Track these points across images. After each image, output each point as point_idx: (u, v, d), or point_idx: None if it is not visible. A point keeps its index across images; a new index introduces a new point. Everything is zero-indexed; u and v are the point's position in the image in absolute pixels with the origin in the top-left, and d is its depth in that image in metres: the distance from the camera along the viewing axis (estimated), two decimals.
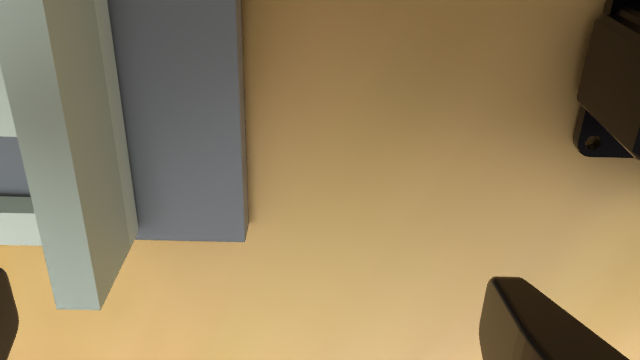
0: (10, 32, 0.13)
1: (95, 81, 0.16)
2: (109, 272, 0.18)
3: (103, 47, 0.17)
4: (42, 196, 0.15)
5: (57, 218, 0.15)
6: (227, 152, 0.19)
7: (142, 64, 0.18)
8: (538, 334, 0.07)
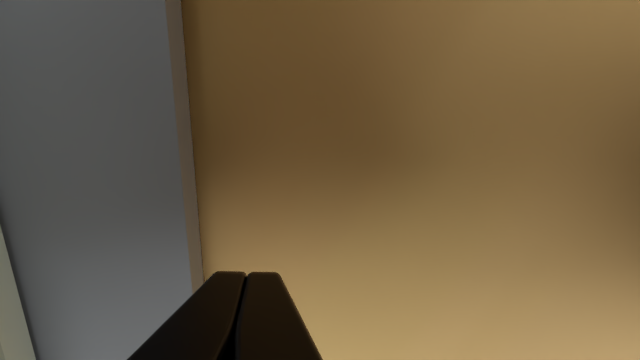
0: None
1: None
2: None
3: None
4: None
5: None
6: (172, 302, 0.13)
7: (33, 183, 0.11)
8: (246, 328, 0.07)
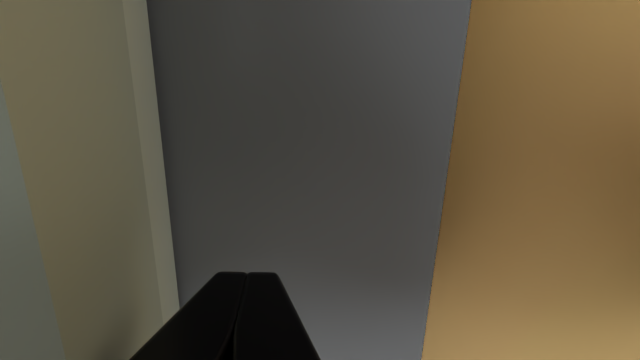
0: None
1: (143, 307, 0.08)
2: None
3: (155, 229, 0.09)
4: None
5: None
6: None
7: (268, 237, 0.10)
8: (244, 329, 0.07)
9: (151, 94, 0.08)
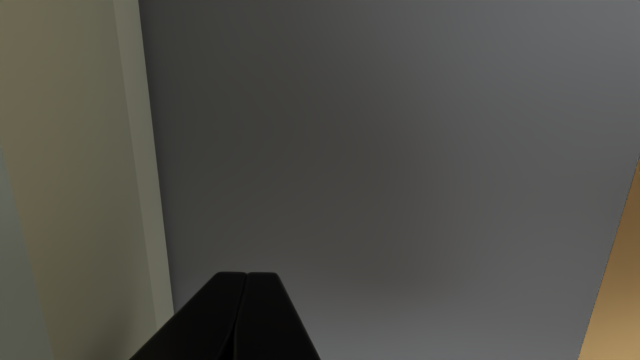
0: None
1: (135, 311, 0.08)
2: None
3: (148, 232, 0.09)
4: None
5: None
6: None
7: (442, 243, 0.10)
8: (244, 328, 0.07)
9: (144, 96, 0.08)
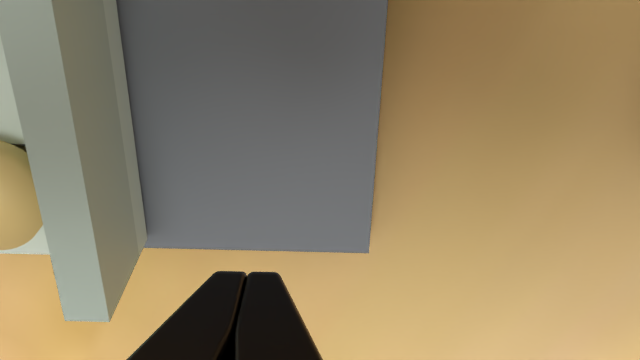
0: (19, 39, 0.13)
1: (104, 88, 0.16)
2: (118, 282, 0.17)
3: (113, 53, 0.16)
4: (51, 206, 0.15)
5: (66, 228, 0.15)
6: (361, 162, 0.19)
7: (284, 73, 0.17)
8: (245, 328, 0.07)
9: None
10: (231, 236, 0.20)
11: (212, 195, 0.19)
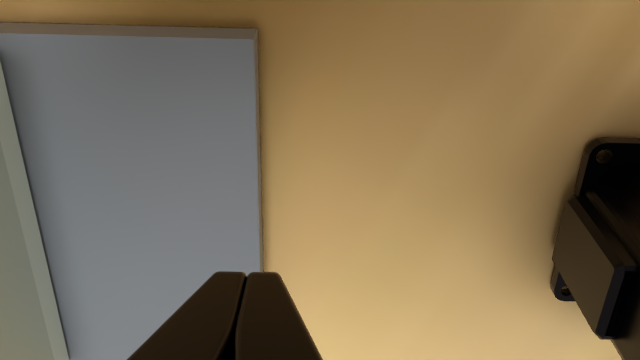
0: None
1: (17, 265, 0.19)
2: None
3: (26, 230, 0.19)
4: None
5: None
6: None
7: (176, 236, 0.21)
8: (245, 329, 0.07)
9: (21, 170, 0.19)
10: None
11: (124, 328, 0.23)
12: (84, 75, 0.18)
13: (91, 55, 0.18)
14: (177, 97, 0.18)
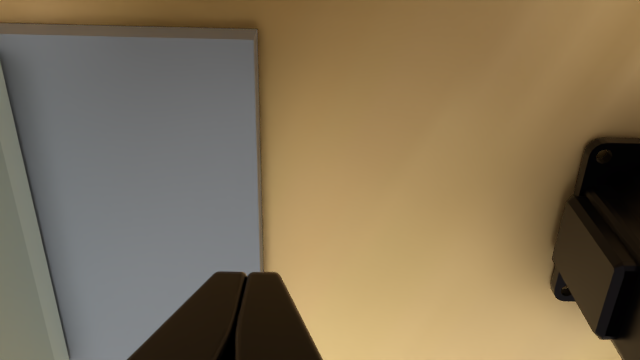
0: None
1: (17, 266, 0.19)
2: None
3: (26, 231, 0.19)
4: None
5: None
6: None
7: (176, 236, 0.21)
8: (245, 328, 0.07)
9: (21, 171, 0.19)
10: None
11: (124, 328, 0.23)
12: (84, 76, 0.18)
13: (91, 56, 0.18)
14: (177, 98, 0.18)
